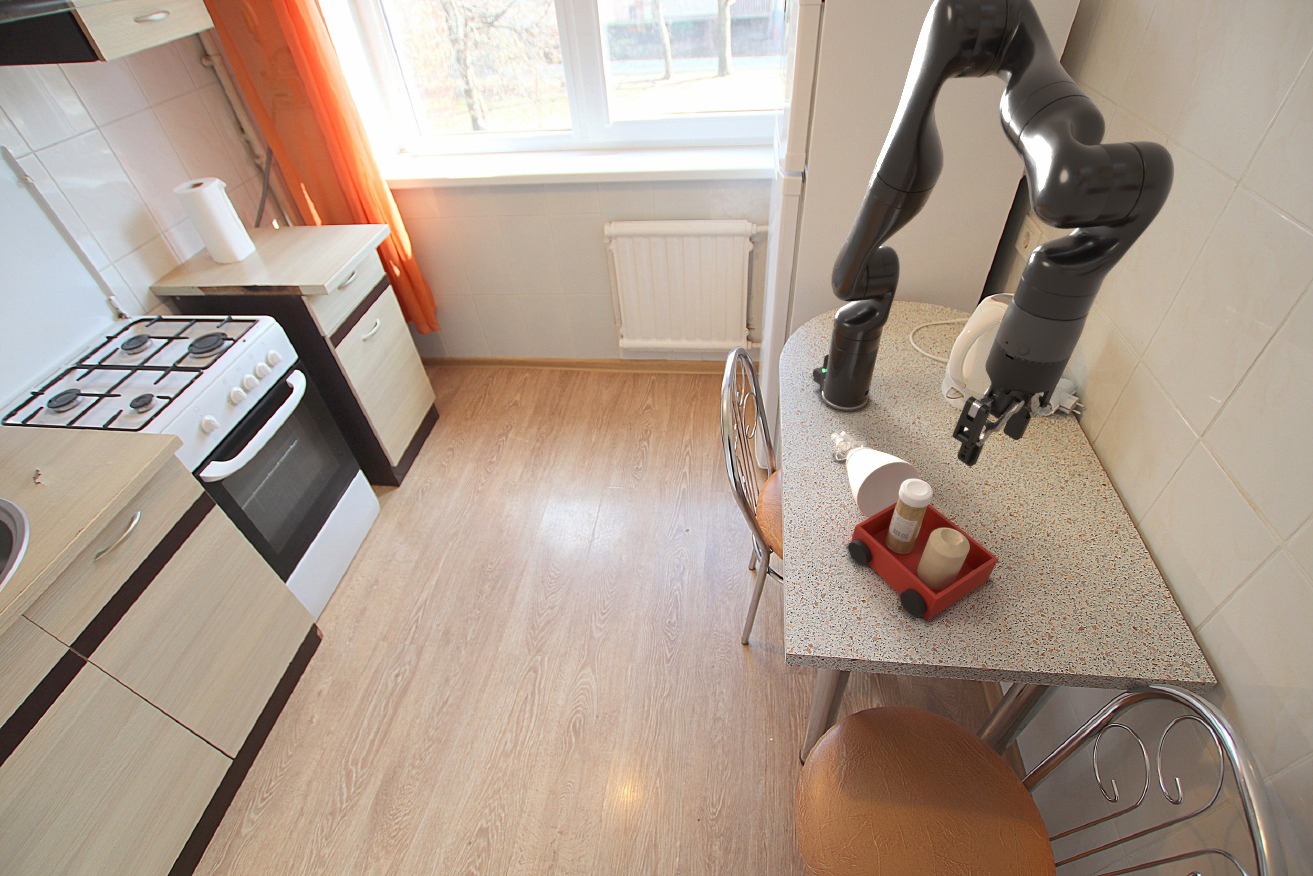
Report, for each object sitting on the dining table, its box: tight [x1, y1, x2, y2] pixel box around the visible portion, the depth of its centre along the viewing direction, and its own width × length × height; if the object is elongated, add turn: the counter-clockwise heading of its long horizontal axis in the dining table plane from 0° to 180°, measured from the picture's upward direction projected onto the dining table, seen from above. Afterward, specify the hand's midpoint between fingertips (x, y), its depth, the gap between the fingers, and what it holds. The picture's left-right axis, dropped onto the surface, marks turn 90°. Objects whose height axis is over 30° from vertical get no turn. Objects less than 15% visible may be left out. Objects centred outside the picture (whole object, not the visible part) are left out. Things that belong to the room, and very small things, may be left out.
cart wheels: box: [847, 540, 927, 618], centre depth 97 cm, size 15×16×4 cm
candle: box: [917, 528, 970, 591], centre depth 92 cm, size 6×6×10 cm
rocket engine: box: [830, 430, 922, 519], centre depth 110 cm, size 12×12×18 cm
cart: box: [850, 502, 1000, 622], centre depth 97 cm, size 16×13×6 cm
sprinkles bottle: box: [885, 479, 934, 554], centre depth 96 cm, size 5×5×14 cm
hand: (988, 448), depth 77 cm, fingers open, 8 cm apart
